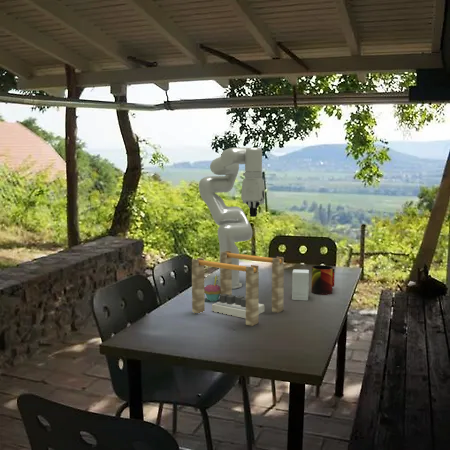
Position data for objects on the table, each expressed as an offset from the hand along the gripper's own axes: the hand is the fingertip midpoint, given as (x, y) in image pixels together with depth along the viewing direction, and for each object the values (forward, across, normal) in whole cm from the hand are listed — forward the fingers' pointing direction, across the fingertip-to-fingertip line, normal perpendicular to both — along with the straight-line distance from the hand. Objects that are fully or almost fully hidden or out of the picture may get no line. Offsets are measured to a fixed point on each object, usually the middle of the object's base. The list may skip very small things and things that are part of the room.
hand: (253, 216), depth 222 cm
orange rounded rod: (+16, +7, -33) cm, 37 cm away
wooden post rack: (+37, +7, -23) cm, 44 cm away
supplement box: (+37, +19, +10) cm, 43 cm away
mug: (+37, +22, +27) cm, 51 cm away
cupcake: (+37, -12, -15) cm, 42 cm away
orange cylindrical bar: (+16, +7, -13) cm, 22 cm away
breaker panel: (+37, +7, -23) cm, 44 cm away
